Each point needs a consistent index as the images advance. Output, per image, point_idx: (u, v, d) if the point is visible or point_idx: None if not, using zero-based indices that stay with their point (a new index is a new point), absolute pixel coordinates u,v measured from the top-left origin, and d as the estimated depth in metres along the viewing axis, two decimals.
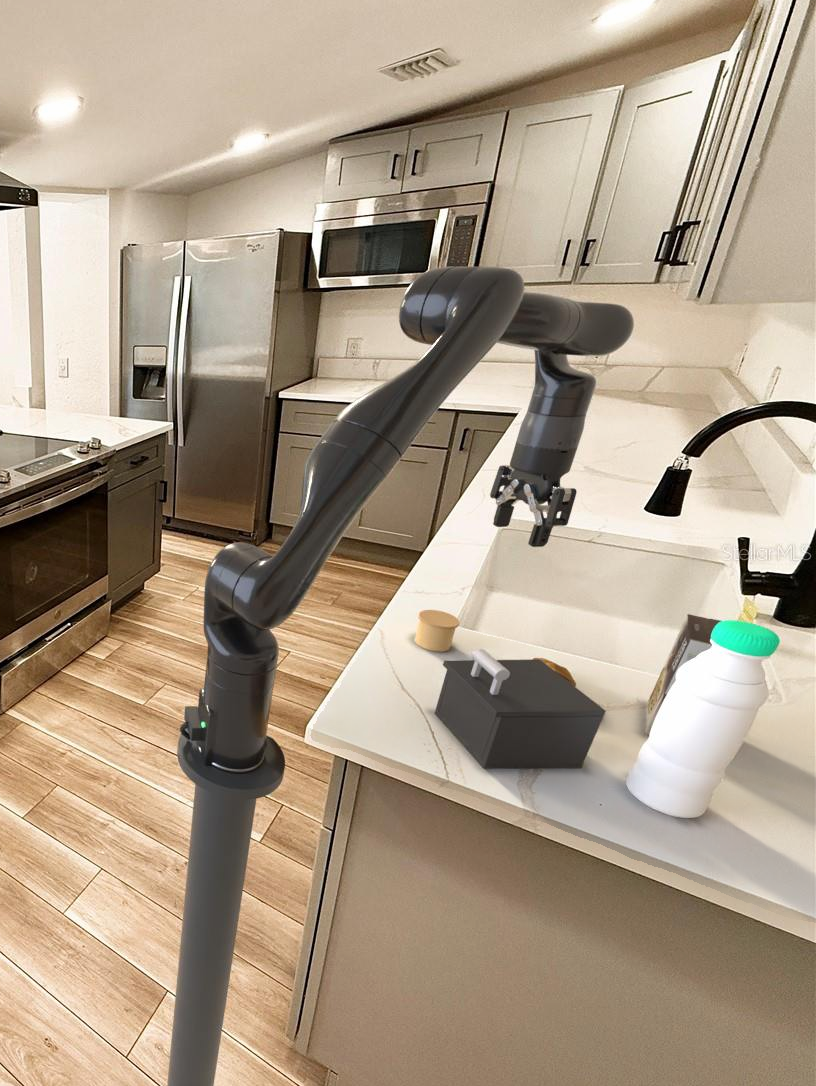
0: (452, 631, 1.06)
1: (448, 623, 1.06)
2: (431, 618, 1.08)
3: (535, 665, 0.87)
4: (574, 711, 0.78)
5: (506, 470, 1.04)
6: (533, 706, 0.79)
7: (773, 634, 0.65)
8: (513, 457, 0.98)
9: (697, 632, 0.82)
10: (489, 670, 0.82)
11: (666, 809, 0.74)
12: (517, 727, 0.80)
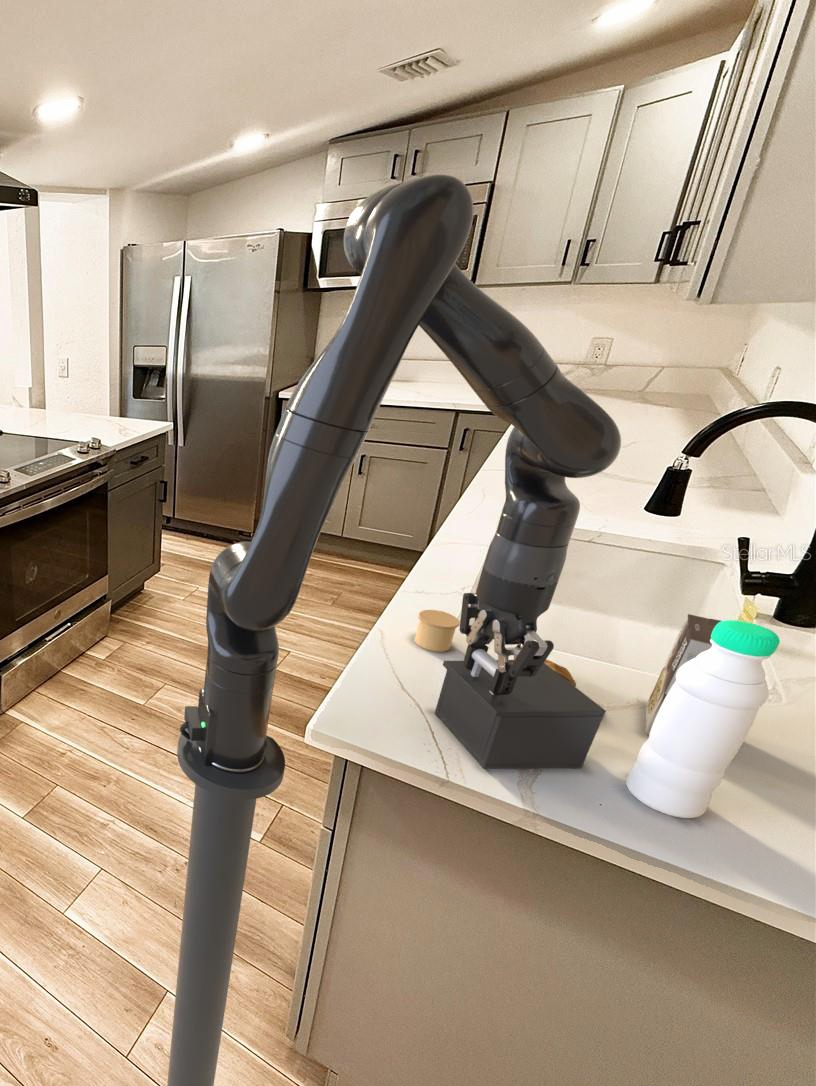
0: (452, 631, 1.06)
1: (448, 623, 1.06)
2: (431, 618, 1.08)
3: None
4: (574, 711, 0.78)
5: (472, 598, 0.85)
6: (533, 706, 0.79)
7: (773, 634, 0.65)
8: (479, 586, 0.79)
9: (698, 632, 0.82)
10: (489, 670, 0.82)
11: (666, 809, 0.74)
12: (517, 727, 0.80)
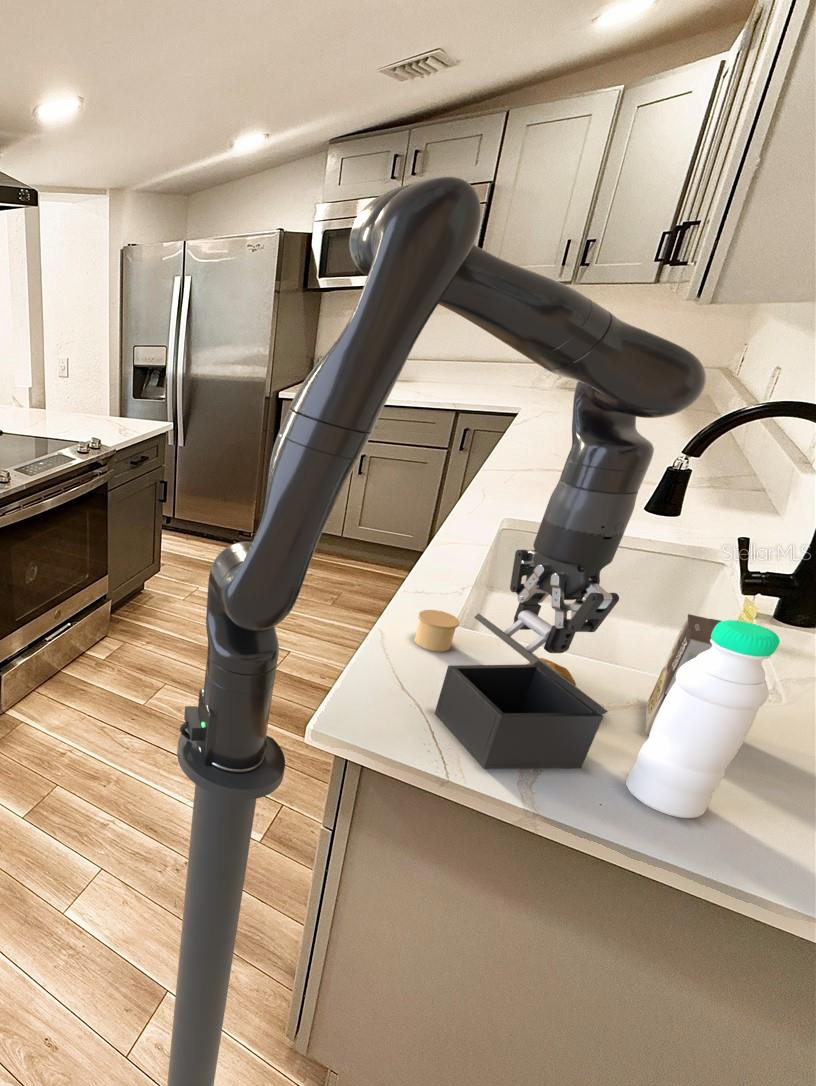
0: (452, 631, 1.06)
1: (448, 623, 1.06)
2: (431, 618, 1.08)
3: None
4: (588, 697, 0.77)
5: (525, 555, 0.82)
6: None
7: (773, 634, 0.65)
8: (538, 538, 0.76)
9: (698, 632, 0.82)
10: (540, 627, 0.79)
11: (666, 809, 0.74)
12: (517, 727, 0.80)
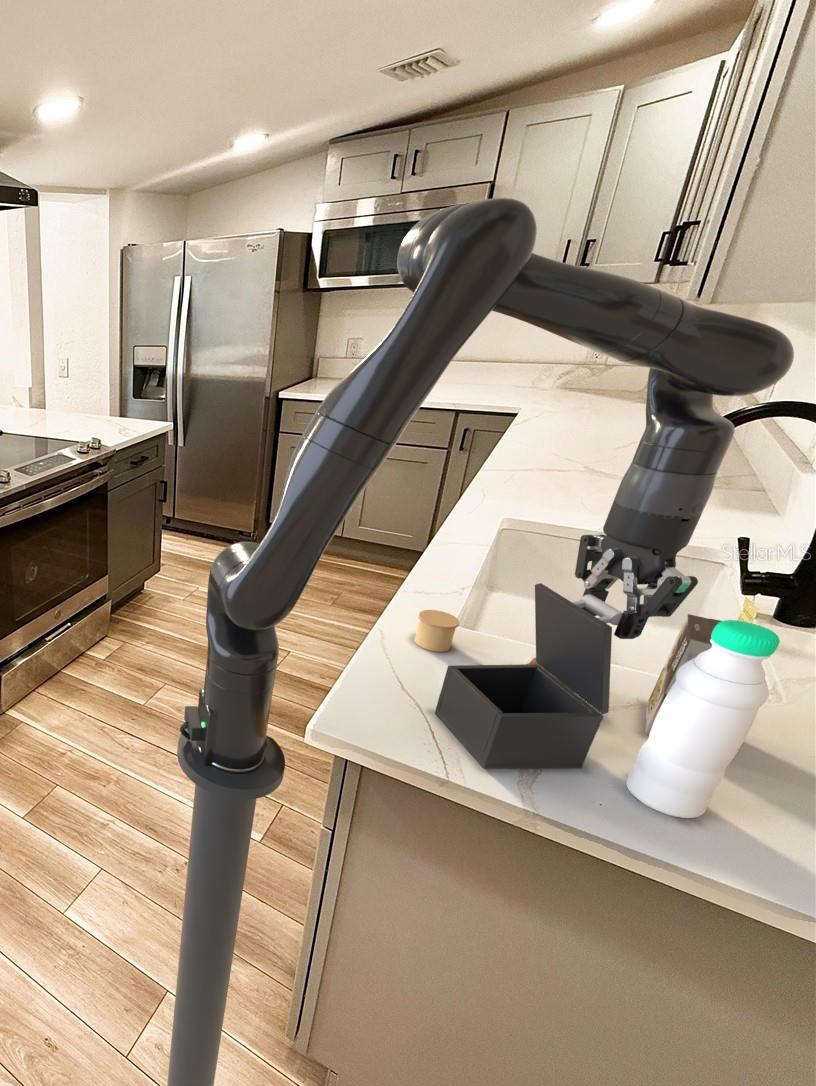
0: (452, 631, 1.06)
1: (448, 623, 1.06)
2: (431, 618, 1.08)
3: None
4: (608, 689, 0.77)
5: (592, 540, 0.81)
6: None
7: (773, 634, 0.65)
8: (609, 522, 0.75)
9: (698, 632, 0.82)
10: (610, 608, 0.77)
11: (666, 809, 0.74)
12: (517, 727, 0.80)
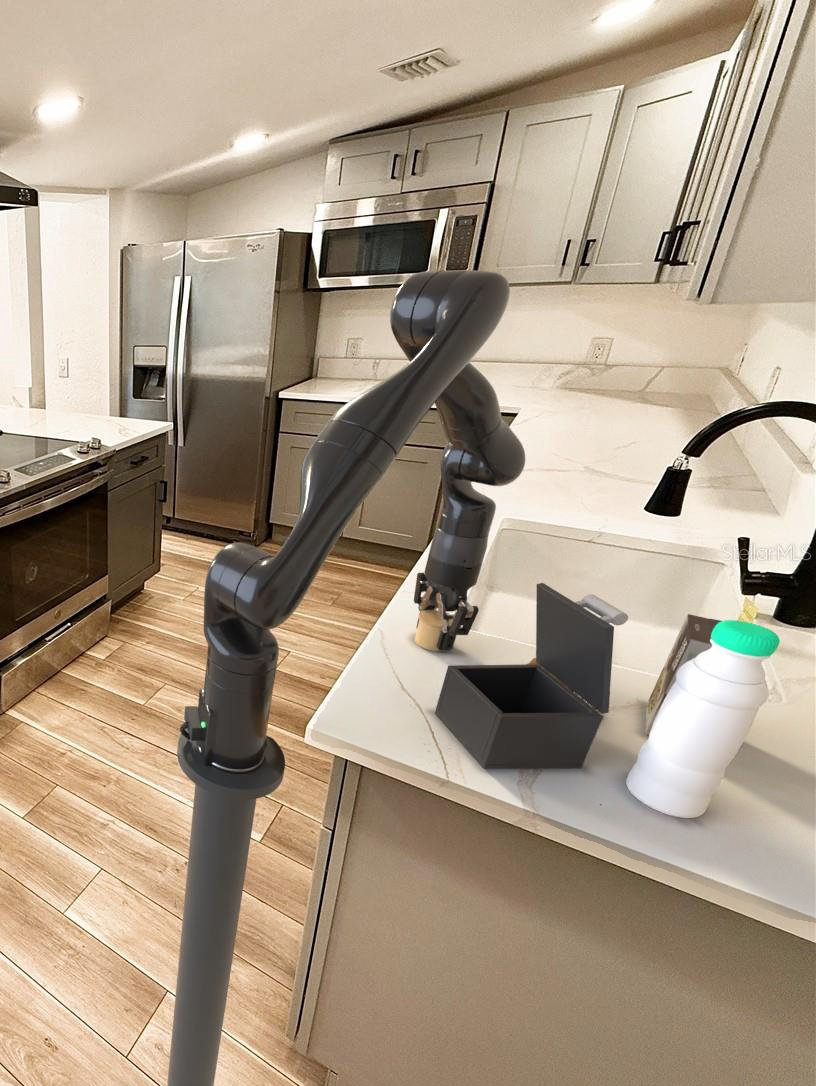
0: None
1: None
2: (431, 618, 1.08)
3: None
4: (609, 689, 0.77)
5: (423, 577, 1.11)
6: None
7: (773, 634, 0.65)
8: (426, 567, 1.05)
9: (698, 632, 0.82)
10: (612, 608, 0.77)
11: (666, 809, 0.74)
12: (517, 727, 0.80)
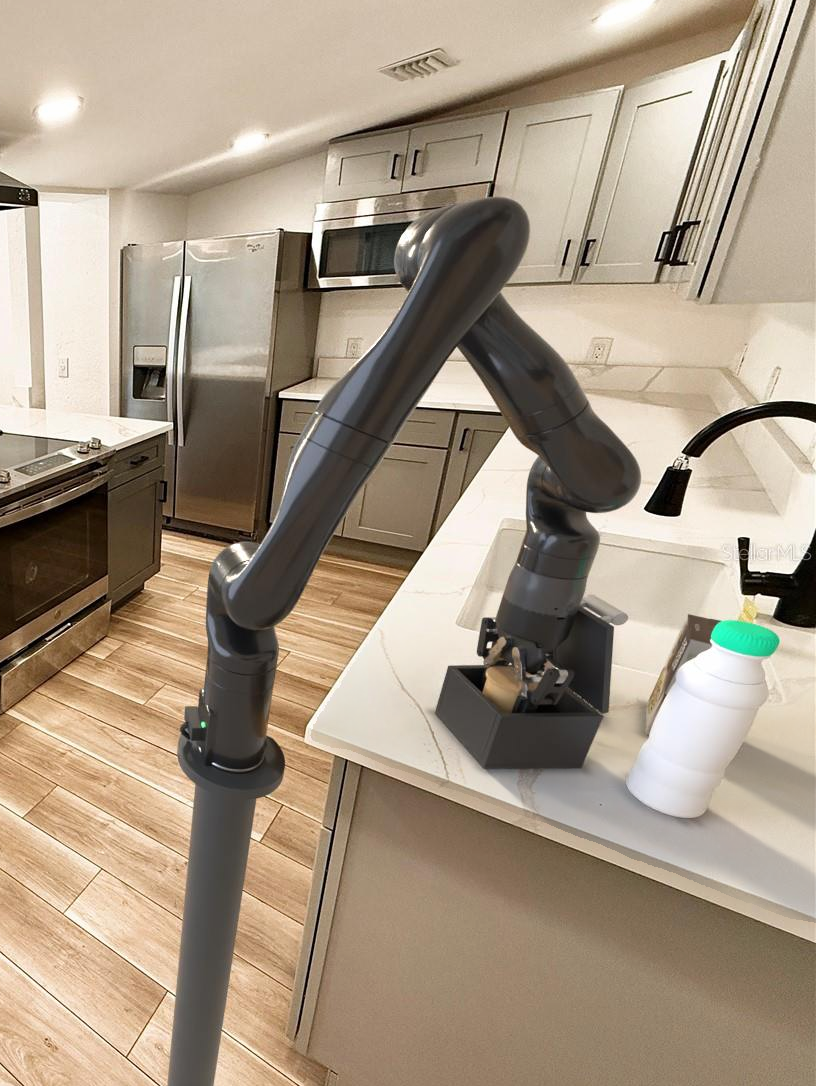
0: None
1: None
2: (504, 679, 0.83)
3: None
4: (609, 689, 0.77)
5: (491, 623, 0.86)
6: None
7: (773, 634, 0.65)
8: (499, 614, 0.81)
9: (698, 632, 0.82)
10: (612, 608, 0.77)
11: (666, 809, 0.74)
12: (517, 727, 0.80)
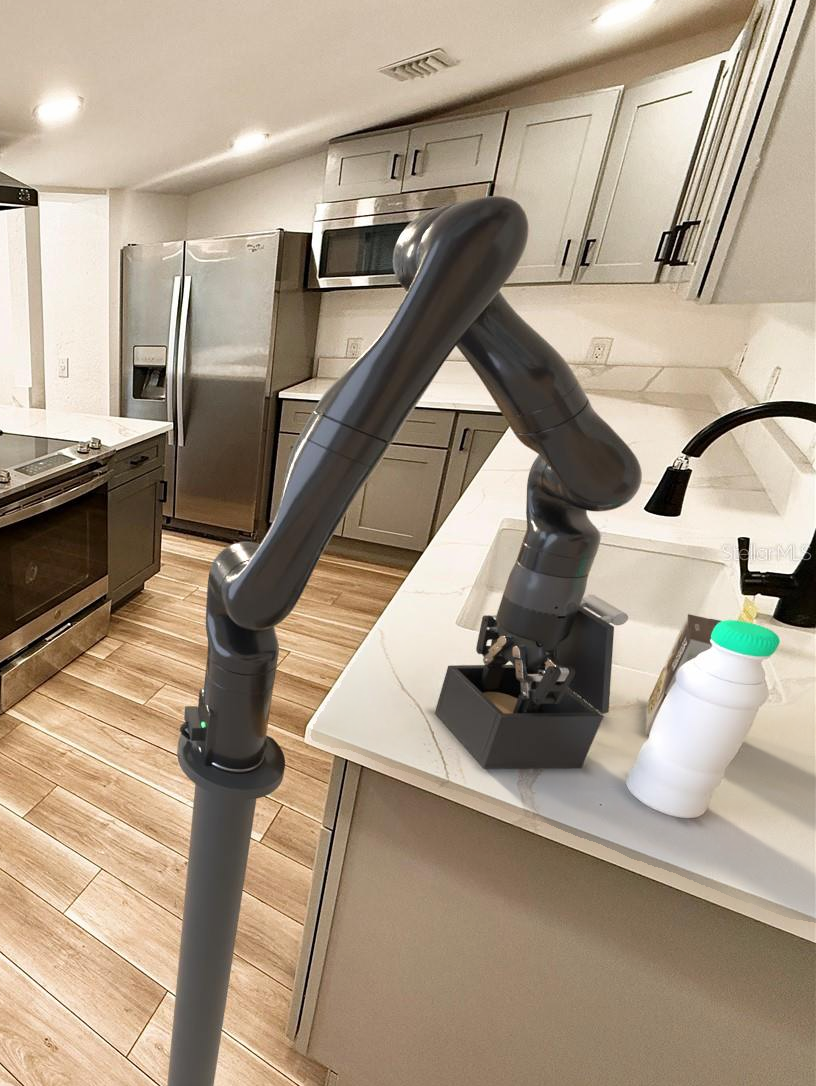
0: None
1: None
2: None
3: None
4: (609, 689, 0.77)
5: (491, 621, 0.86)
6: None
7: (773, 634, 0.65)
8: (500, 612, 0.81)
9: (698, 632, 0.82)
10: (612, 608, 0.77)
11: (666, 809, 0.74)
12: (517, 727, 0.80)
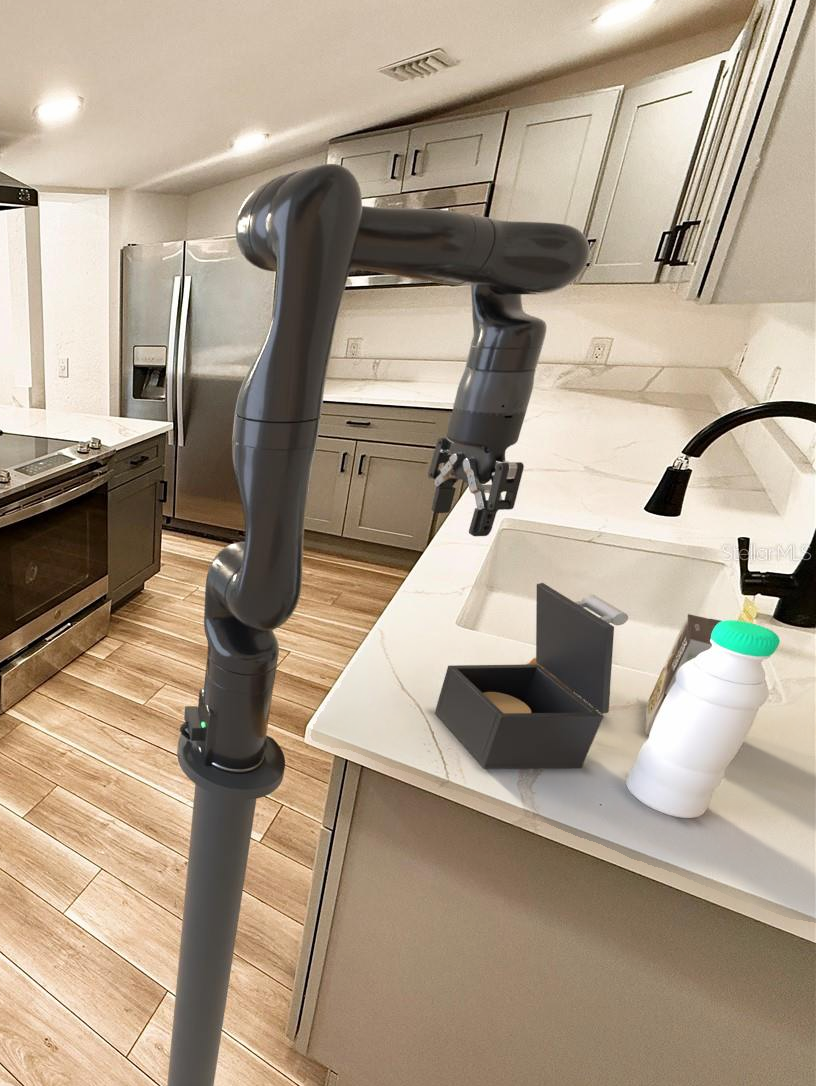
0: None
1: None
2: None
3: None
4: (609, 689, 0.77)
5: (445, 444, 0.85)
6: None
7: (773, 634, 0.65)
8: (450, 426, 0.80)
9: (698, 632, 0.82)
10: (612, 608, 0.77)
11: (666, 809, 0.74)
12: (517, 727, 0.80)
